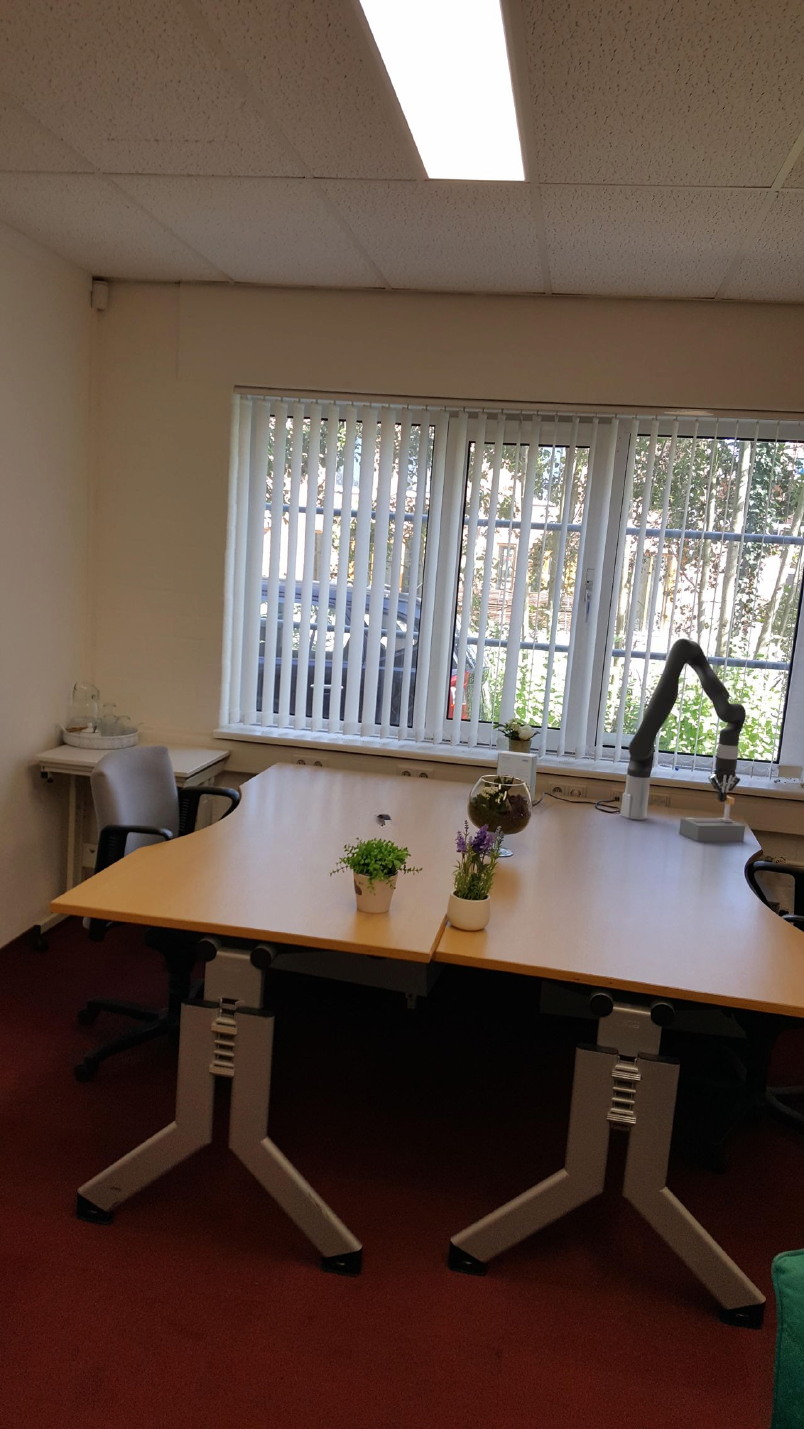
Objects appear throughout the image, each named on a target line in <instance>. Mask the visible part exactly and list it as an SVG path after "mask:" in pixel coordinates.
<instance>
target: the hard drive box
mask: <svg viewBox="0 0 804 1429" xmlns="http://www.w3.org/2000/svg"><path fill="white" fill-rule="evenodd" d="M496 766H497V767H496V775H508V776H512V777H515V778H519V779H520V780H523V781H524V782H525V783H527V786H528V787H529V790H530V794H531V796H532V800H533V801H532V802H534V801H535V793H536V792H535V790H536V779H537V770H538V769H537V766H538V754H536V753H535V754H533V753H527V752H526V753H525V752H518V751H517V752H516V751H510V750H502V751H499V752H497V764H496Z"/></svg>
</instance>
